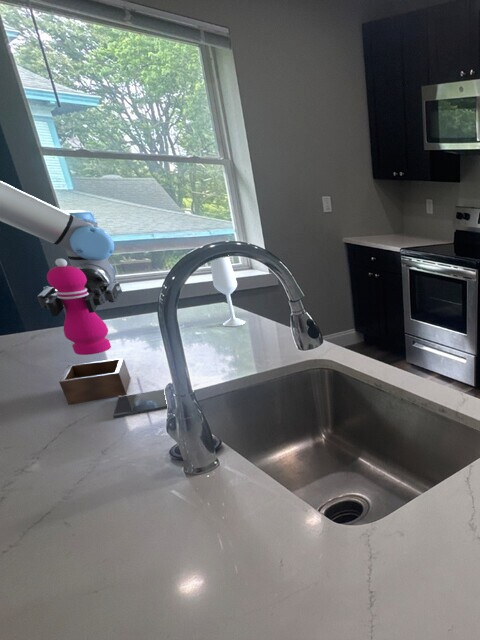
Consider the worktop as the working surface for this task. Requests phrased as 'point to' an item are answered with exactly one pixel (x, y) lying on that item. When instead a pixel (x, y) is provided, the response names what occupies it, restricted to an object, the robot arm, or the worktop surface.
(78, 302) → the pepper mill
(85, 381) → the mill caddy
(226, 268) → the champagne flute
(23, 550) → the worktop surface
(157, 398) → the slate coaster
